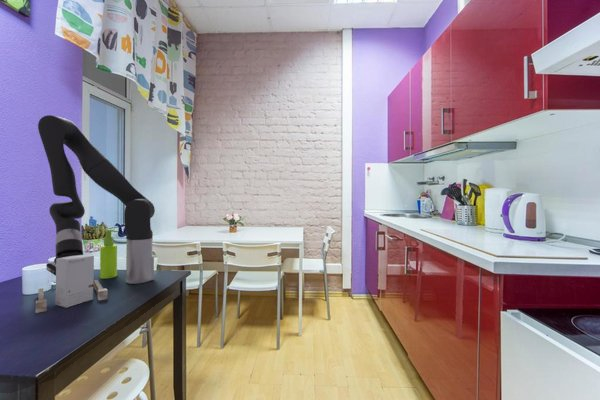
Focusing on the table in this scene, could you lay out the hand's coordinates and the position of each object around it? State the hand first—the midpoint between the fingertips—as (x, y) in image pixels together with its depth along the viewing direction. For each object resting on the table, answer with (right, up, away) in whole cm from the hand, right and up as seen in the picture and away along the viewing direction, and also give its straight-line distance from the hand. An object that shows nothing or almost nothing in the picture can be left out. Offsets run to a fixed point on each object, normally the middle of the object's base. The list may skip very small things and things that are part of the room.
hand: (71, 286), depth 94 cm
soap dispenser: (-5, -4, +26) cm, 27 cm away
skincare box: (+3, -5, -2) cm, 6 cm away
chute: (-2, -4, +2) cm, 5 cm away
